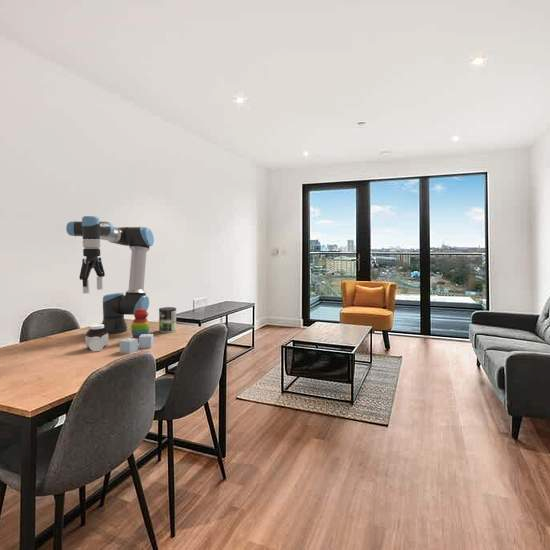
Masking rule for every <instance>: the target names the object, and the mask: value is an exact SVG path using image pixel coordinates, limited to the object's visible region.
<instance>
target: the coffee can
mask: <svg viewBox="0 0 550 550" xmlns="http://www.w3.org/2000/svg"><path fill="white" fill-rule="evenodd" d="M158 311H159V312H158V313H159V314H158V316H159V317H158V318H159V319H158V325H159V327H158V332H160V333H162V334H163V333H164V334H167V333H175V332H176V331H177V308H176V307H174V306H171V307H170V306H165V307H159V308H158Z"/></svg>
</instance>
